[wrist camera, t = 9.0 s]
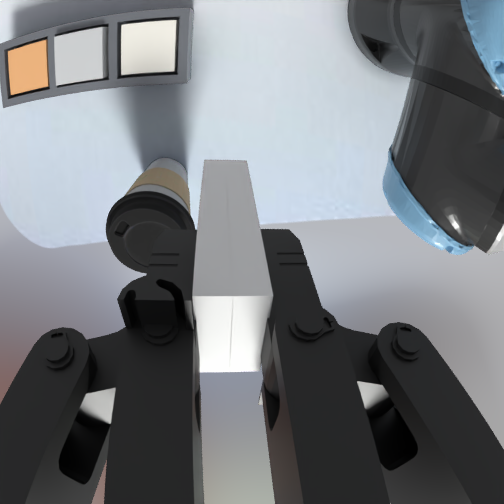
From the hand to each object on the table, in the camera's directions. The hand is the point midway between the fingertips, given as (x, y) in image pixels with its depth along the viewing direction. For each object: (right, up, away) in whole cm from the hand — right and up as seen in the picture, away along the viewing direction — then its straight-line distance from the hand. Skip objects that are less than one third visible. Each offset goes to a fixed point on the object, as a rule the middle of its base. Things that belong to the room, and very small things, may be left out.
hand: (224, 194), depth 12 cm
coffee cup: (-11, +8, +30) cm, 33 cm away
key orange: (-26, +21, +15) cm, 36 cm away
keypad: (-18, +22, +18) cm, 34 cm away
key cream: (-10, +21, +17) cm, 29 cm away
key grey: (-18, +20, +15) cm, 31 cm away
